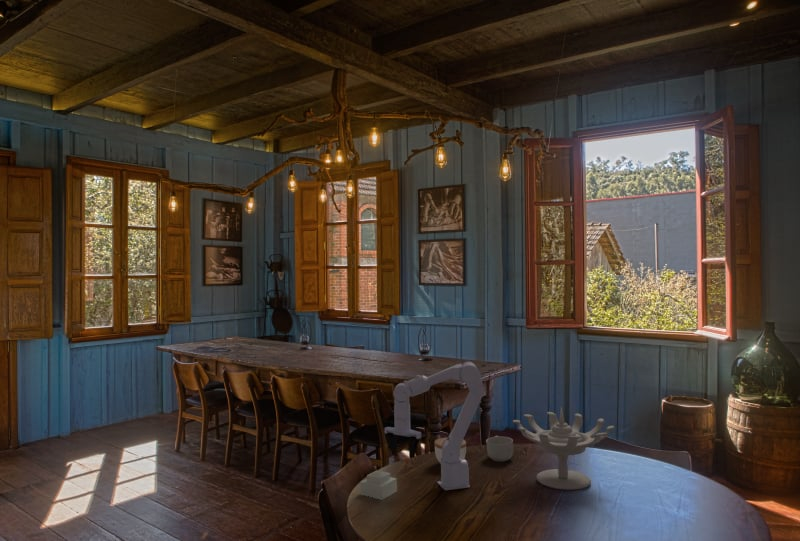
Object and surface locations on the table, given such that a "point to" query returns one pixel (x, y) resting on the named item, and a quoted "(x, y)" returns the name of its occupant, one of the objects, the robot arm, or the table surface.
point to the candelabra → (563, 448)
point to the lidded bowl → (439, 449)
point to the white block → (378, 485)
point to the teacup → (500, 448)
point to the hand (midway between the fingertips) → (403, 455)
